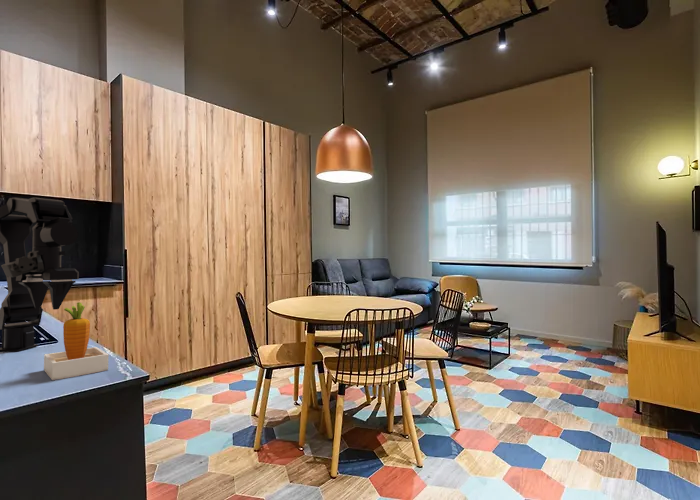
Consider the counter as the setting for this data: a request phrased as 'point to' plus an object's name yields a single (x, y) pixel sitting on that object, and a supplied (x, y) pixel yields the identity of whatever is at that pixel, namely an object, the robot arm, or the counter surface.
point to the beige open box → (75, 364)
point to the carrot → (76, 333)
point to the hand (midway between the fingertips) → (46, 308)
